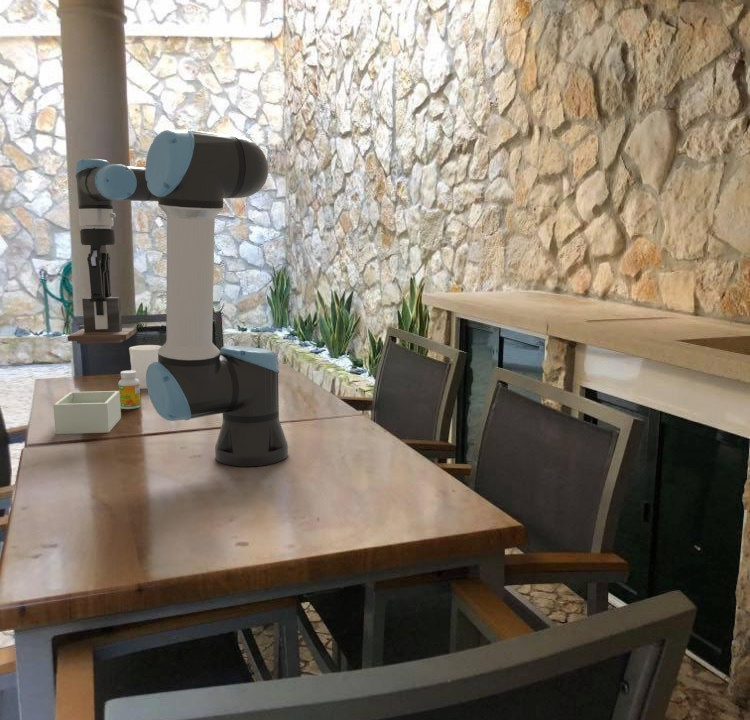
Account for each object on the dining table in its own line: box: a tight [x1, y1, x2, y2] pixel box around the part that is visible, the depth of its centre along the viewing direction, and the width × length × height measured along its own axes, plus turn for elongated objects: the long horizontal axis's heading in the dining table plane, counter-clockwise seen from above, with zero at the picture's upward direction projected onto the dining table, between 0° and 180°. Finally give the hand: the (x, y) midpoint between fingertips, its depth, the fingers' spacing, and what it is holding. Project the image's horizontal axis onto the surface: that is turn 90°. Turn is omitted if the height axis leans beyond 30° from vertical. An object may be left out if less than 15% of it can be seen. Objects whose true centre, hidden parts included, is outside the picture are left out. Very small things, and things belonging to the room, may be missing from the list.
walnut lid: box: [67, 296, 138, 344], centre depth 178 cm, size 15×13×10 cm
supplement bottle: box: [117, 369, 141, 410], centre depth 200 cm, size 5×5×10 cm
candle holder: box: [128, 344, 163, 390], centre depth 228 cm, size 10×10×12 cm
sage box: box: [53, 390, 122, 435], centre depth 181 cm, size 14×12×7 cm
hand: (103, 327), depth 178 cm, fingers closed on walnut lid, 3 cm apart
